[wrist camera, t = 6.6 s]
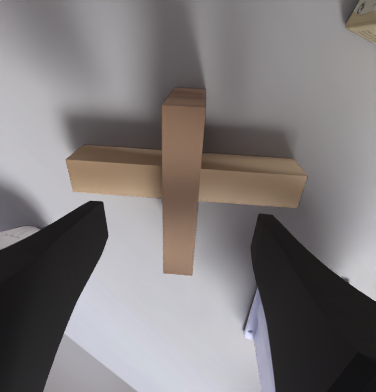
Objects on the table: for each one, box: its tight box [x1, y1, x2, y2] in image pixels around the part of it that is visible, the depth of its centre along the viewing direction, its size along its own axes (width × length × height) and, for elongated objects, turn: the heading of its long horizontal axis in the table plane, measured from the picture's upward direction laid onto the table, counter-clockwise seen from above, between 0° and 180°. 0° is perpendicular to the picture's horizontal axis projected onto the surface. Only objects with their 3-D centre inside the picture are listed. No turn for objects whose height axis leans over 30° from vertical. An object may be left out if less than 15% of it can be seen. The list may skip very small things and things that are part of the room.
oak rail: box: [66, 145, 308, 208], centre depth 16 cm, size 2×14×2 cm, turn 87°
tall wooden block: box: [162, 87, 206, 276], centre depth 15 cm, size 10×2×5 cm, turn 177°
